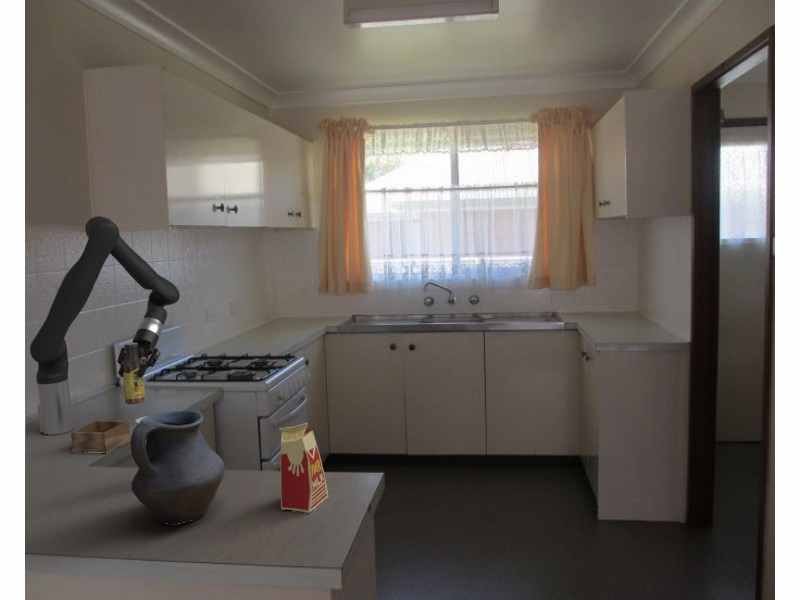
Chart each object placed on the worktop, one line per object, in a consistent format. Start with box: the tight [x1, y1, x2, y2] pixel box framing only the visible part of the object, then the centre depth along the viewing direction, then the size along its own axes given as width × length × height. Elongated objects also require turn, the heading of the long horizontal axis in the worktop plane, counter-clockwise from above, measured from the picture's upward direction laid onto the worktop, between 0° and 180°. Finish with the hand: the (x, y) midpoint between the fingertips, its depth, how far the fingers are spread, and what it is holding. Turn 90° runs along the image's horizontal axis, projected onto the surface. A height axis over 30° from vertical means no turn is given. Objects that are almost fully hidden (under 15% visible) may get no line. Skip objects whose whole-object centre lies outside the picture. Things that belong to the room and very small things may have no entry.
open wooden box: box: [70, 419, 132, 454], centre depth 202 cm, size 12×12×6 cm
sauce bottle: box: [122, 342, 146, 405], centre depth 216 cm, size 6×6×20 cm
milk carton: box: [278, 422, 330, 512], centre depth 153 cm, size 9×9×20 cm
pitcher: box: [130, 409, 226, 525], centre depth 149 cm, size 21×22×25 cm
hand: (130, 376), depth 215 cm, fingers closed on sauce bottle, 6 cm apart
